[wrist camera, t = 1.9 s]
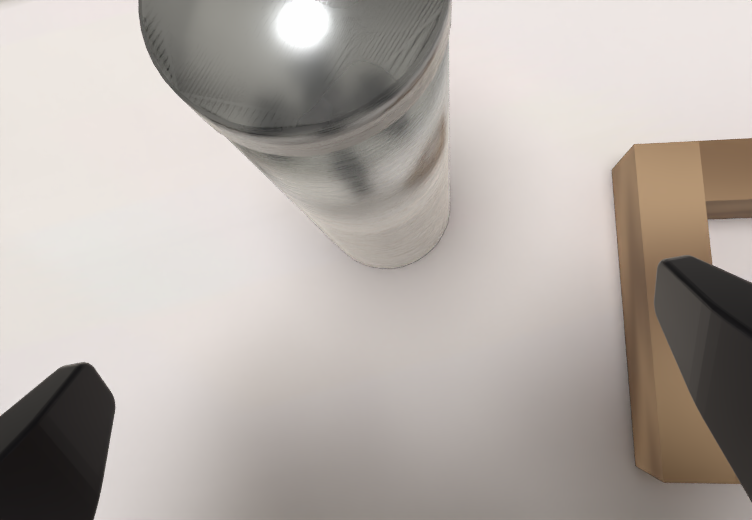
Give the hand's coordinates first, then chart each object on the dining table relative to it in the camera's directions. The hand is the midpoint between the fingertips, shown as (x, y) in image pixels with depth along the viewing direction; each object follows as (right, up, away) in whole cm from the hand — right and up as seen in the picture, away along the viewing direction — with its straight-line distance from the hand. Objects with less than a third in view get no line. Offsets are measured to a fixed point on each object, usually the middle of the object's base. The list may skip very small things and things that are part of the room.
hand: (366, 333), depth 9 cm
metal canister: (+1, +3, +12) cm, 13 cm away
